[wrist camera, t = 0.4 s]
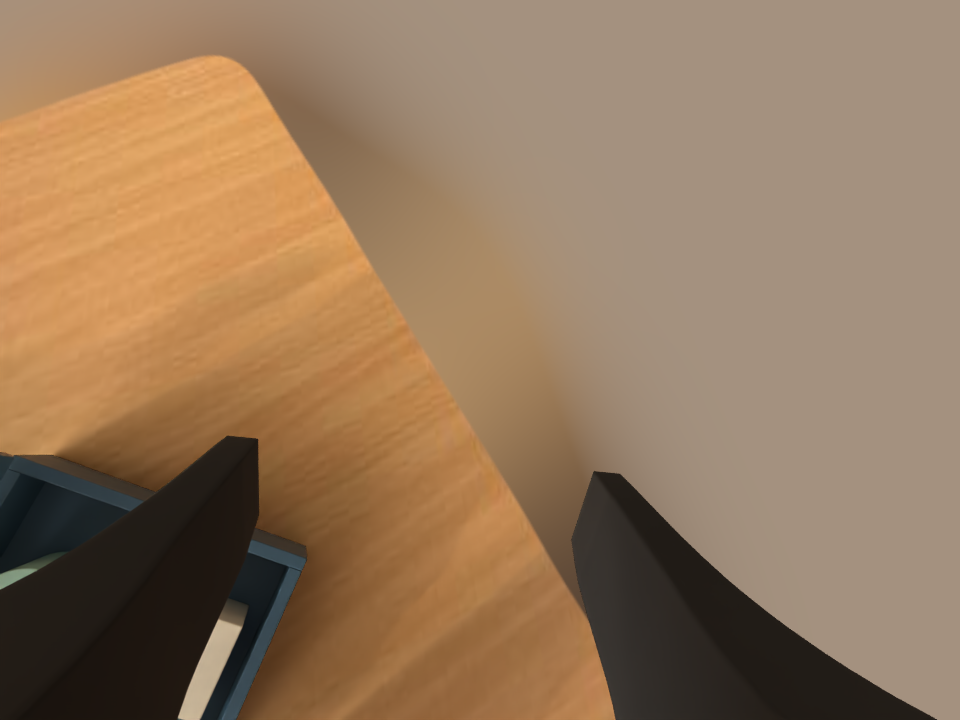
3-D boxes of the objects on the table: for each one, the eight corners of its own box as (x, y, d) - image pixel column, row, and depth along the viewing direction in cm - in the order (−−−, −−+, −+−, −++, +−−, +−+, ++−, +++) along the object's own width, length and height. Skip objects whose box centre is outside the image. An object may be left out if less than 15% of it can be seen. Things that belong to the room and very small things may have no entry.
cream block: (211, 689, 32) (198, 724, 28) (107, 659, 31) (77, 691, 27) (249, 604, 33) (242, 626, 29) (151, 572, 32) (129, 590, 28)
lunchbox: (306, 546, 35) (307, 558, 31) (208, 767, 32) (194, 815, 28) (51, 454, 32) (14, 454, 28) (-89, 690, 29) (-156, 731, 24)
